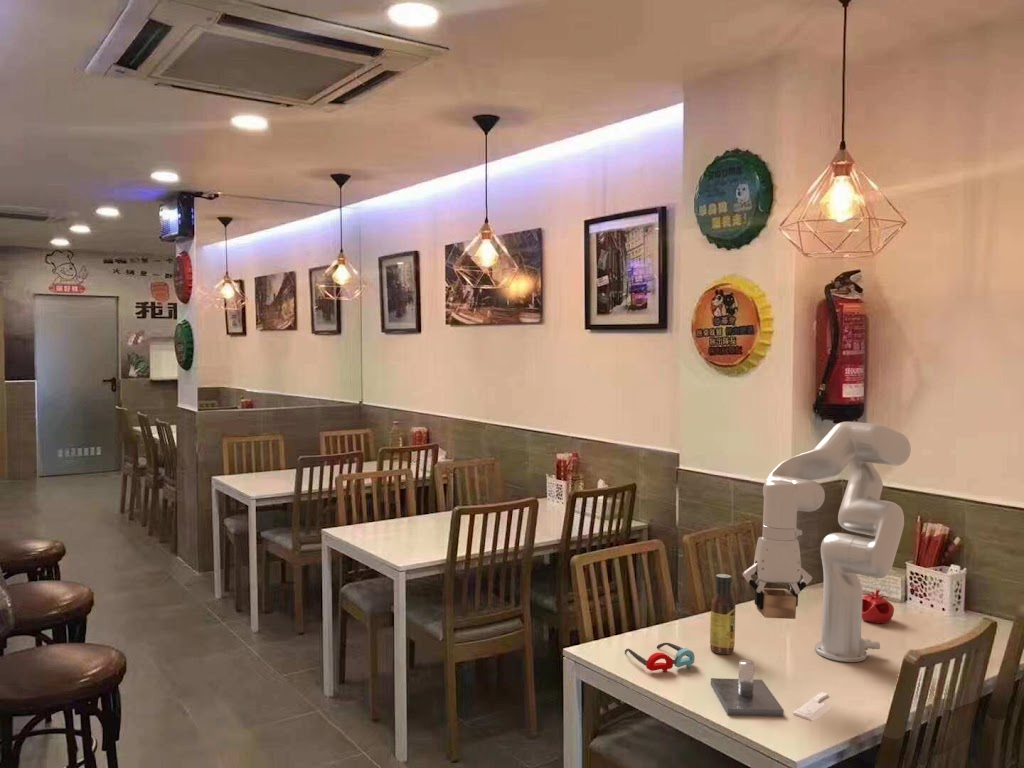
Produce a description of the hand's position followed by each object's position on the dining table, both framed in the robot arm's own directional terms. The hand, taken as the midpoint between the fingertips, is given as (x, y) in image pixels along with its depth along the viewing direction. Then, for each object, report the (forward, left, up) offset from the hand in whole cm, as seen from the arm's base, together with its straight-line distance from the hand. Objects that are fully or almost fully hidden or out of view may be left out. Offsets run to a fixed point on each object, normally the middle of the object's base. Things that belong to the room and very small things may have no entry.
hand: (775, 608), depth 190 cm
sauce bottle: (+7, -21, -19) cm, 29 cm away
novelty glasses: (+25, -13, -19) cm, 34 cm away
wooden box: (0, 0, -1) cm, 1 cm away
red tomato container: (-45, -49, -19) cm, 69 cm away
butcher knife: (-6, +12, -19) cm, 23 cm away
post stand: (+9, +9, -18) cm, 22 cm away
